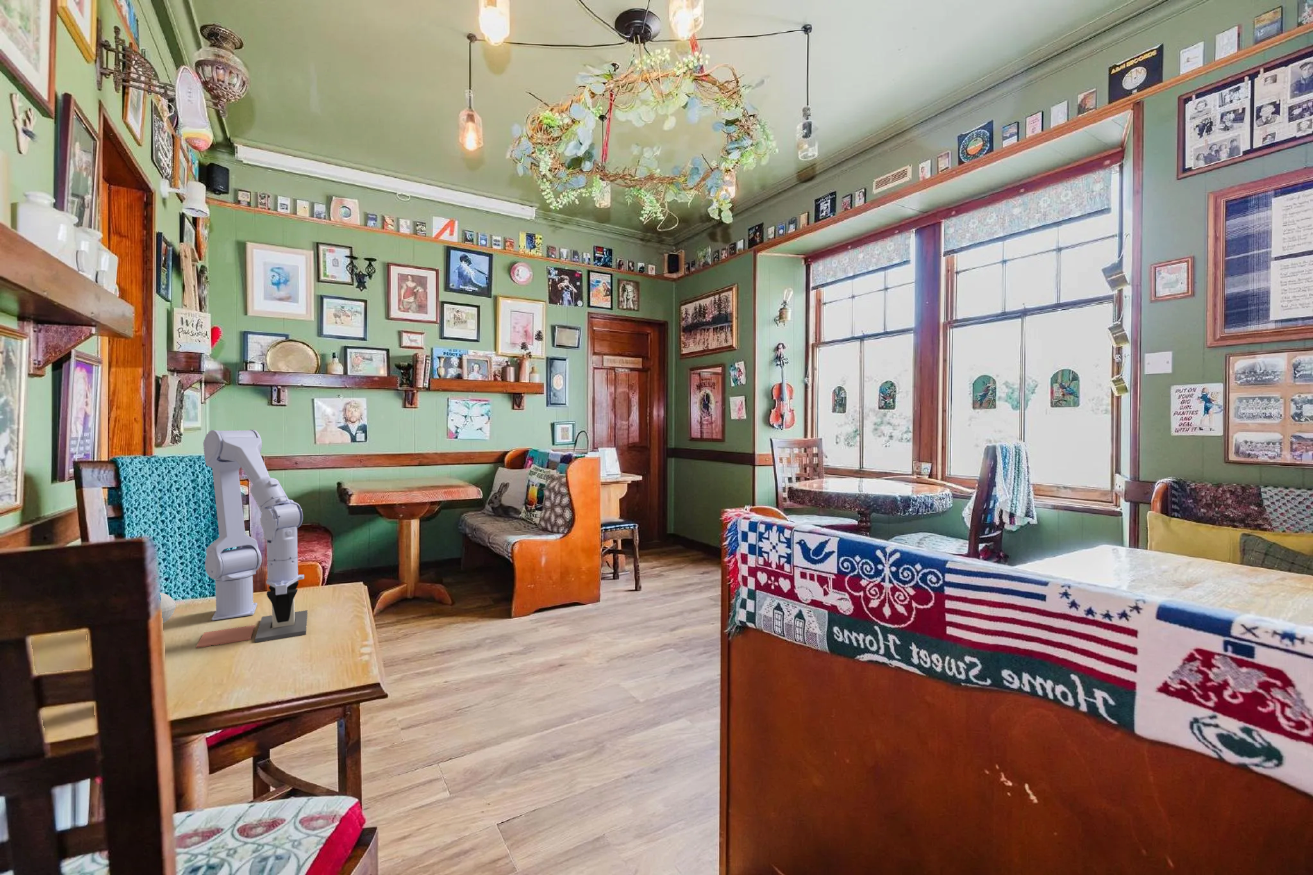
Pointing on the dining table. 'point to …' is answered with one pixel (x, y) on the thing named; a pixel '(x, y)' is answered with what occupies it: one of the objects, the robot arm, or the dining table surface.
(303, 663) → the dining table surface
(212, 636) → the mat
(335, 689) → the dining table surface
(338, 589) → the dining table surface
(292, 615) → the plug
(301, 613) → the board
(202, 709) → the dining table surface
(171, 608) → the lollipop
